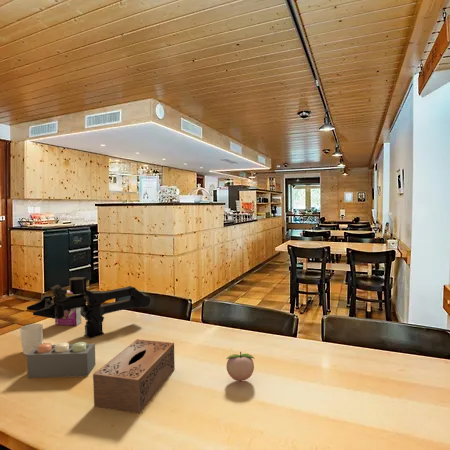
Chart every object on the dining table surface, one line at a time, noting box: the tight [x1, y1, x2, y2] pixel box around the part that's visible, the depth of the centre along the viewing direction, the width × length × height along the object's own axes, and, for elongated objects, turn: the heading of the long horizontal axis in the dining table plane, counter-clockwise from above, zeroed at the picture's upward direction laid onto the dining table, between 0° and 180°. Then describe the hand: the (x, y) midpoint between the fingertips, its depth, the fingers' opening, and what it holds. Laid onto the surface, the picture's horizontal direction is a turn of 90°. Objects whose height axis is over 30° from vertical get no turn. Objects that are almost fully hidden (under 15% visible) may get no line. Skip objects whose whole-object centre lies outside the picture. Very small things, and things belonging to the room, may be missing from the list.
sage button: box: [72, 341, 87, 352], centre depth 119 cm, size 4×4×4 cm
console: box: [26, 343, 96, 379], centre depth 119 cm, size 8×20×8 cm, turn 93°
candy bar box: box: [53, 289, 82, 327], centre depth 165 cm, size 11×5×16 cm, turn 84°
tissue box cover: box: [92, 338, 176, 414], centre depth 109 cm, size 26×14×10 cm, turn 166°
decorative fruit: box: [226, 351, 255, 382], centre depth 111 cm, size 9×8×10 cm
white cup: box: [19, 323, 44, 356], centre depth 135 cm, size 8×8×10 cm
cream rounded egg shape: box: [54, 341, 70, 352], centre depth 119 cm, size 4×4×4 cm
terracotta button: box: [37, 342, 53, 353], centre depth 118 cm, size 4×4×4 cm
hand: (29, 311), depth 134 cm, fingers open, 9 cm apart
